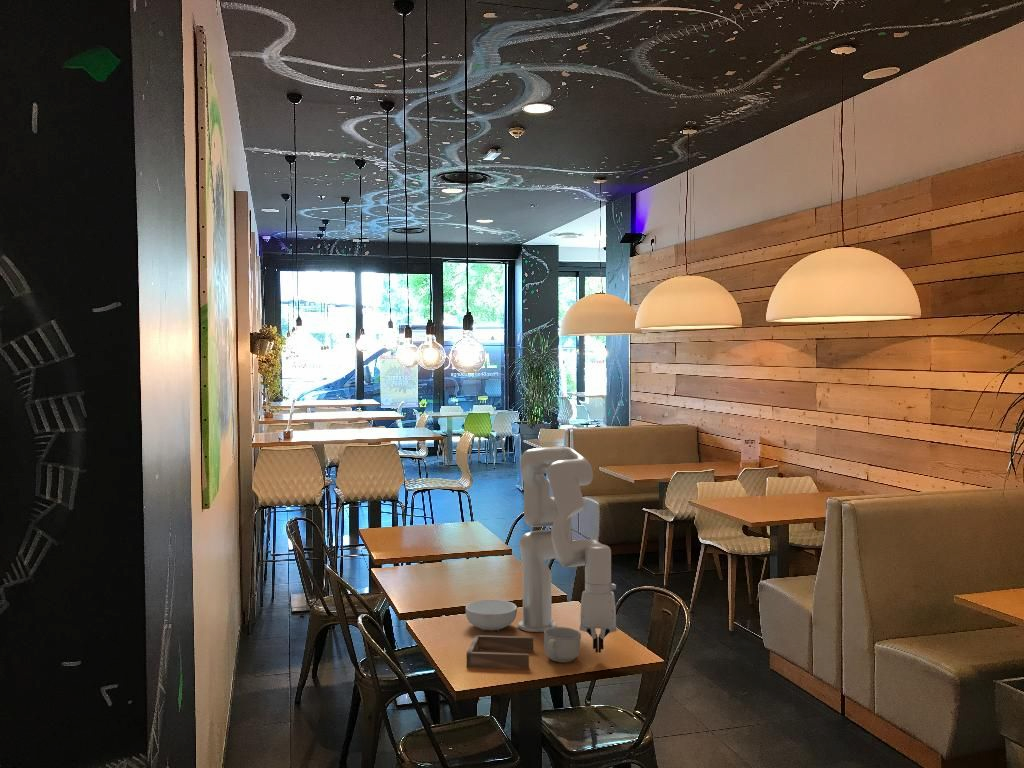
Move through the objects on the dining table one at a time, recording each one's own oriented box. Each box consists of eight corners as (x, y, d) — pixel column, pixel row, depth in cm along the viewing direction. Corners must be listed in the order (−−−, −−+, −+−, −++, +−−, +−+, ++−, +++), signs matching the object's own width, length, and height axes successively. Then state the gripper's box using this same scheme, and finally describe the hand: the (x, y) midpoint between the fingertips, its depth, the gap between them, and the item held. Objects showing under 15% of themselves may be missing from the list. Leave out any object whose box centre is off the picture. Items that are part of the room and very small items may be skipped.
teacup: (558, 650, 248) (558, 624, 248) (588, 658, 241) (588, 631, 241) (529, 663, 237) (529, 635, 237) (560, 671, 230) (560, 642, 230)
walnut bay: (475, 648, 250) (475, 635, 250) (533, 650, 248) (533, 637, 248) (466, 667, 233) (466, 653, 233) (528, 669, 232) (528, 655, 231)
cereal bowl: (455, 630, 267) (455, 609, 267) (481, 617, 282) (481, 597, 282) (501, 638, 259) (501, 616, 259) (525, 624, 274) (525, 603, 274)
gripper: (623, 585, 240) (623, 647, 240) (572, 584, 242) (572, 646, 242) (624, 591, 233) (624, 656, 233) (571, 590, 234) (571, 654, 235)
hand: (598, 651), depth 238 cm, fingers closed
